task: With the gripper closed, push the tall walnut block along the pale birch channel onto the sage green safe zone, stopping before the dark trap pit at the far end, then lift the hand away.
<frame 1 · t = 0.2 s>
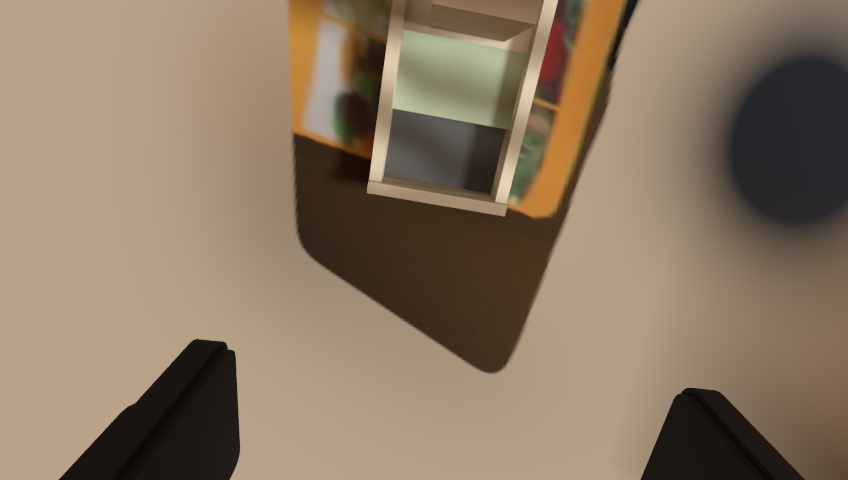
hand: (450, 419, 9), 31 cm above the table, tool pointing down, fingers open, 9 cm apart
channel board: (466, 30, 34), on the table
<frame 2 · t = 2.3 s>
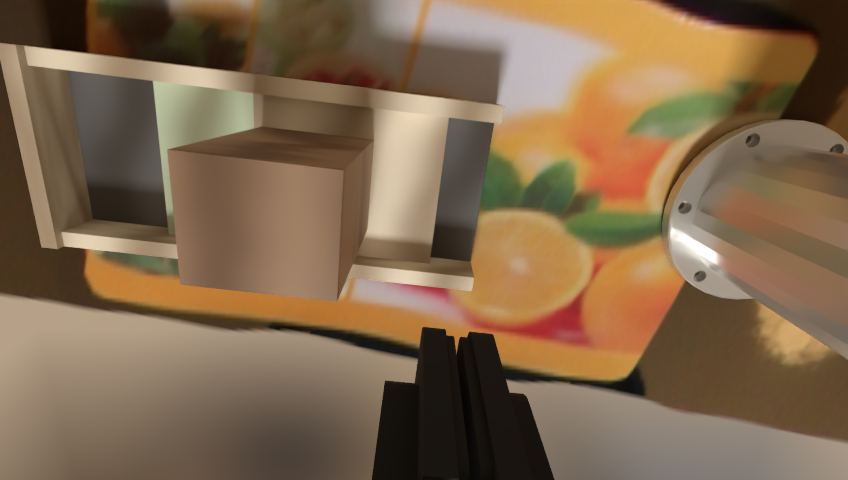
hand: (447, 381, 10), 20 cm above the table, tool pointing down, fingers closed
channel board: (278, 170, 28), on the table
walnut block: (316, 180, 27), point 1 cm above the table, touching channel board
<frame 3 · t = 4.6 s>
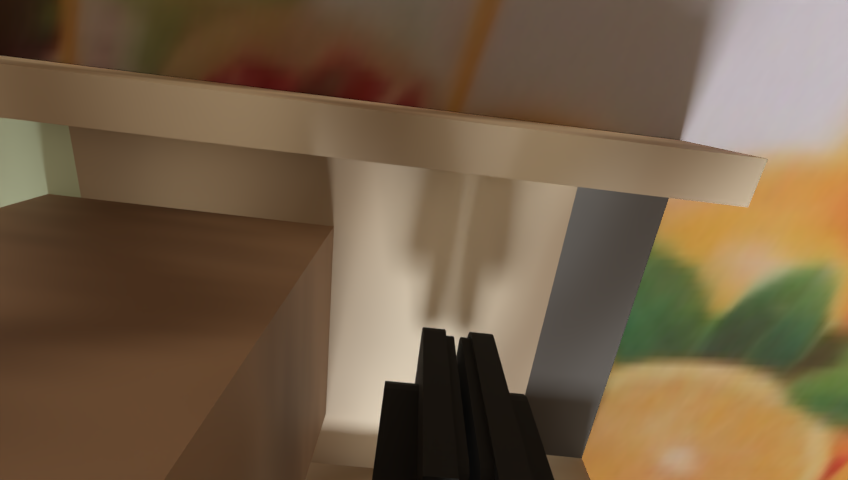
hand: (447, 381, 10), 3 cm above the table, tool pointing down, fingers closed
channel board: (169, 283, 13), on the table
walnut block: (201, 315, 11), point 1 cm above the table, touching channel board
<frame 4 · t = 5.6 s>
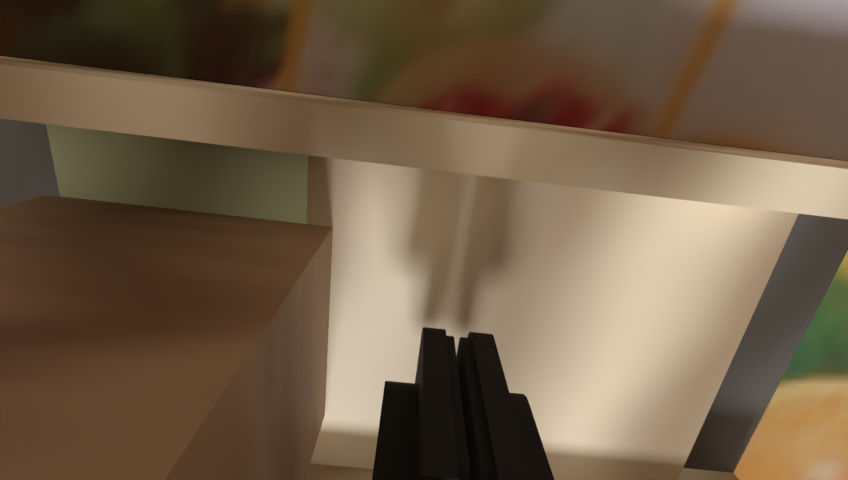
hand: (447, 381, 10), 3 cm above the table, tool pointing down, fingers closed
channel board: (350, 304, 13), on the table
walnut block: (199, 316, 11), point 1 cm above the table, touching channel board, gripper
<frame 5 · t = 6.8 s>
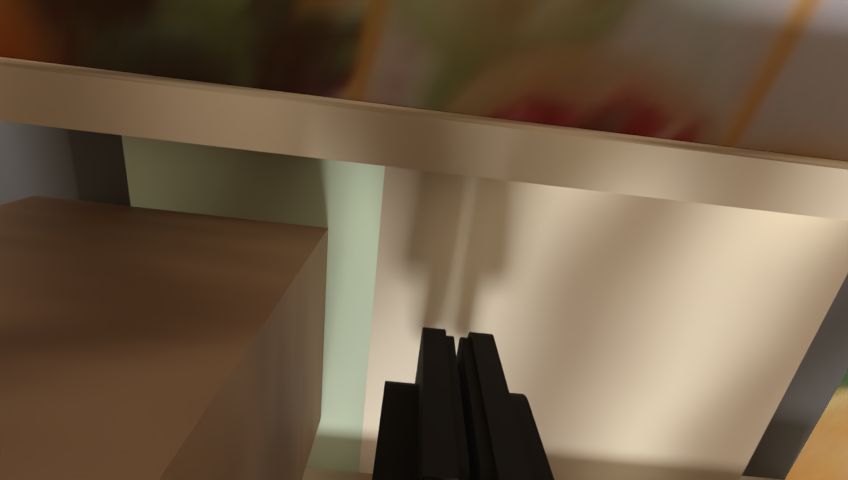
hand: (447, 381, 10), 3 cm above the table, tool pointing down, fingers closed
channel board: (408, 313, 13), on the table
walnut block: (193, 319, 11), point 1 cm above the table, touching channel board
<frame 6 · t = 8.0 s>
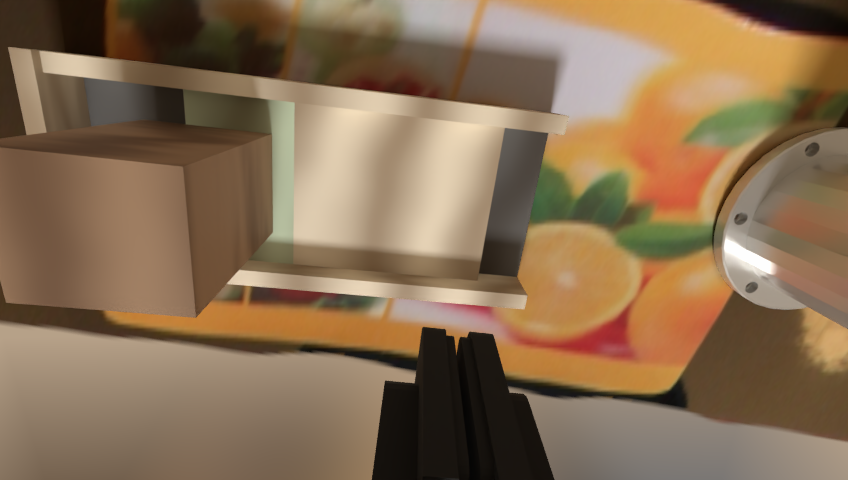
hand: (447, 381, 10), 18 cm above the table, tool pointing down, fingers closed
channel board: (315, 184, 26), on the table
walnut block: (211, 179, 24), point 1 cm above the table, touching channel board
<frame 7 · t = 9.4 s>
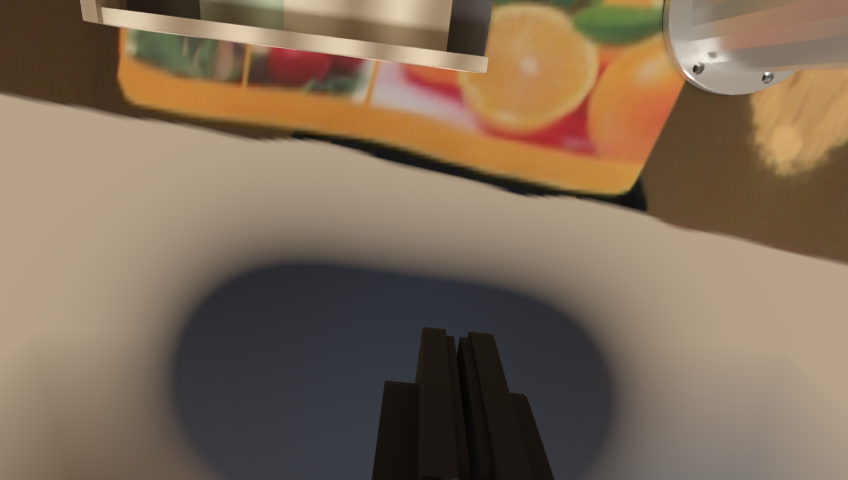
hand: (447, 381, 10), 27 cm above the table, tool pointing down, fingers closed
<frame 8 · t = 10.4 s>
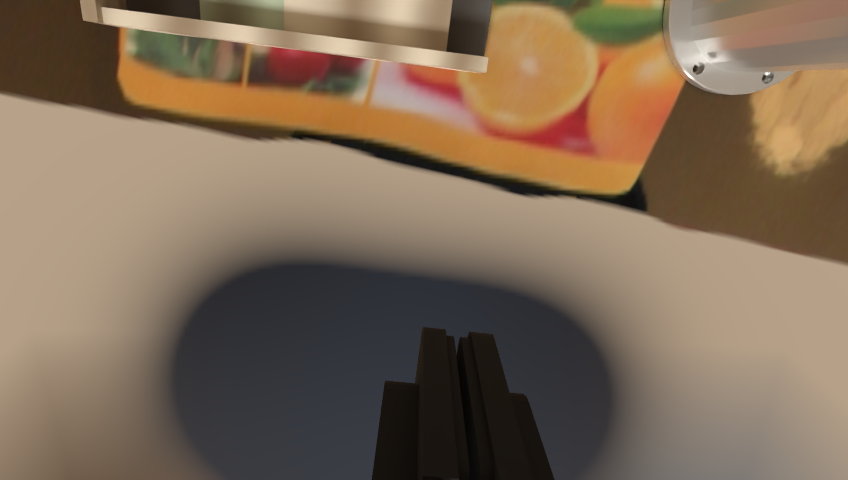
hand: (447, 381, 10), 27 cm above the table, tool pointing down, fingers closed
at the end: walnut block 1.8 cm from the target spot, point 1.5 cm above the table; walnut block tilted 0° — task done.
